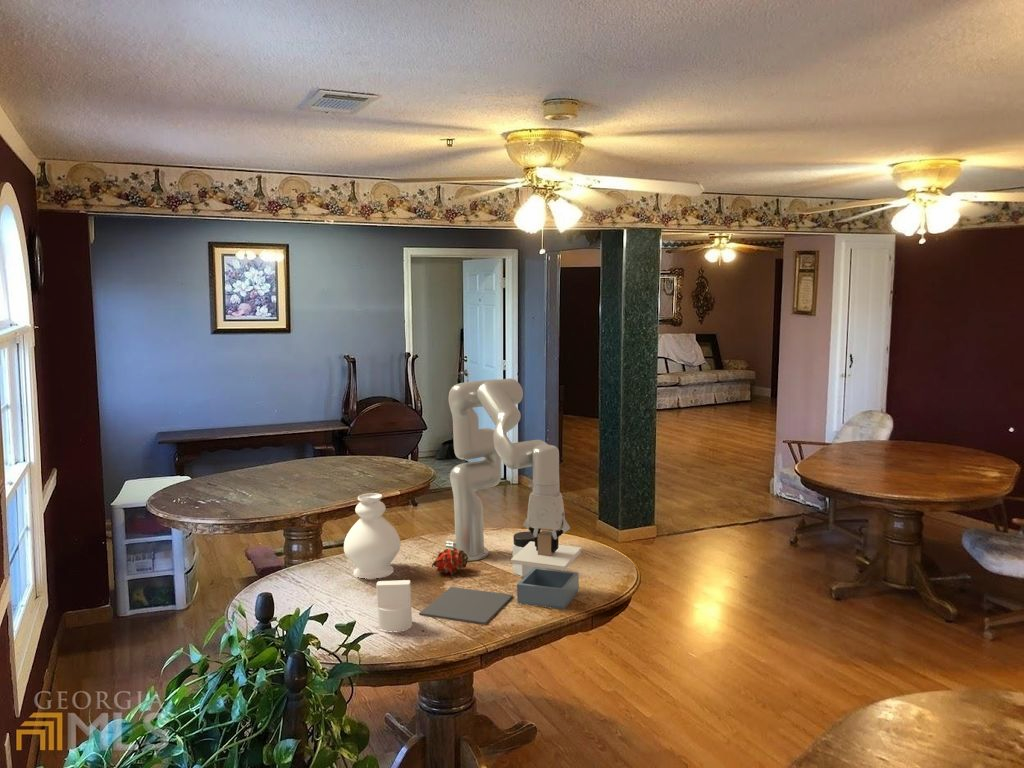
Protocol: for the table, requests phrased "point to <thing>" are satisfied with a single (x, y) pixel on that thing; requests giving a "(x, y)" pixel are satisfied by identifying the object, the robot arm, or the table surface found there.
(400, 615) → the cylinder with rectangular tab
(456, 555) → the dragon fruit
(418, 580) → the table surface
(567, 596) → the open square box
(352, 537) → the decorative vase
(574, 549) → the lid
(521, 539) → the jar
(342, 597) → the table surface
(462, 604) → the mat
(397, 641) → the table surface
